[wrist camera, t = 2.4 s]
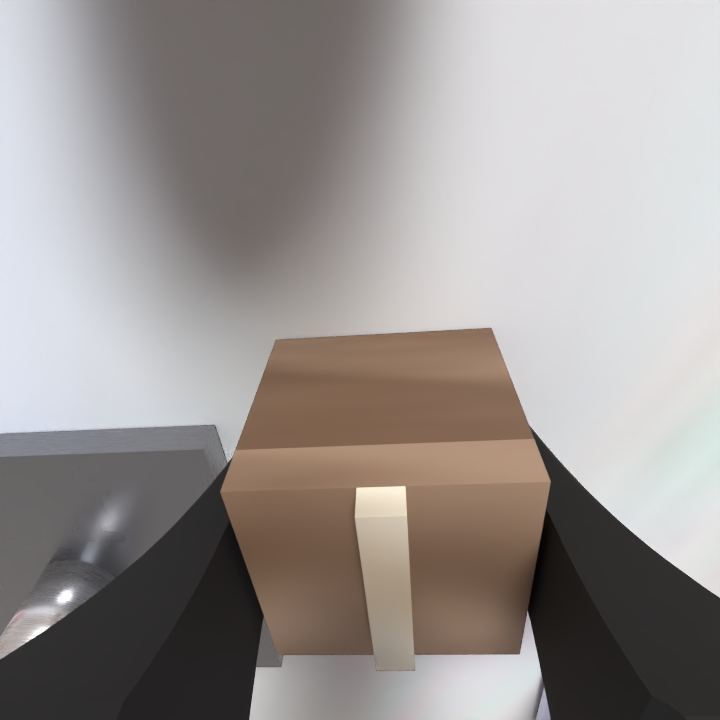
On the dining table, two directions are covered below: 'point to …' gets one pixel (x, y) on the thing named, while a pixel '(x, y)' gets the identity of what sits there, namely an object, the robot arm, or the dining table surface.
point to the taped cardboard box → (389, 497)
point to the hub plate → (92, 515)
